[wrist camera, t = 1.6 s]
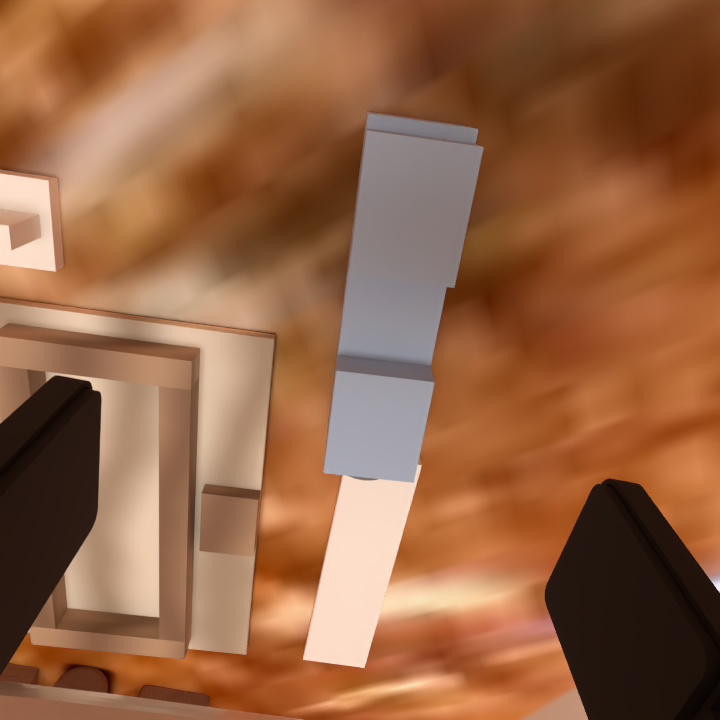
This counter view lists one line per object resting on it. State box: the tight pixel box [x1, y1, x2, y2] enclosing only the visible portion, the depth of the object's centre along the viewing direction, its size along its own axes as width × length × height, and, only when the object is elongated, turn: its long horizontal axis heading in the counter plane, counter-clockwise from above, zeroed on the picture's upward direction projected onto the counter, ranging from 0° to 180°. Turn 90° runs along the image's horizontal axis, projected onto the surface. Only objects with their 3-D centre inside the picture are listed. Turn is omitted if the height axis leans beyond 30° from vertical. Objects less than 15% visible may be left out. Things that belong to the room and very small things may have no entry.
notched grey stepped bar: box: [323, 111, 484, 483], centre depth 25 cm, size 16×4×6 cm, turn 173°
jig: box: [0, 297, 276, 659], centre depth 31 cm, size 16×22×2 cm
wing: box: [303, 458, 422, 668], centre depth 34 cm, size 4×16×1 cm, turn 169°
